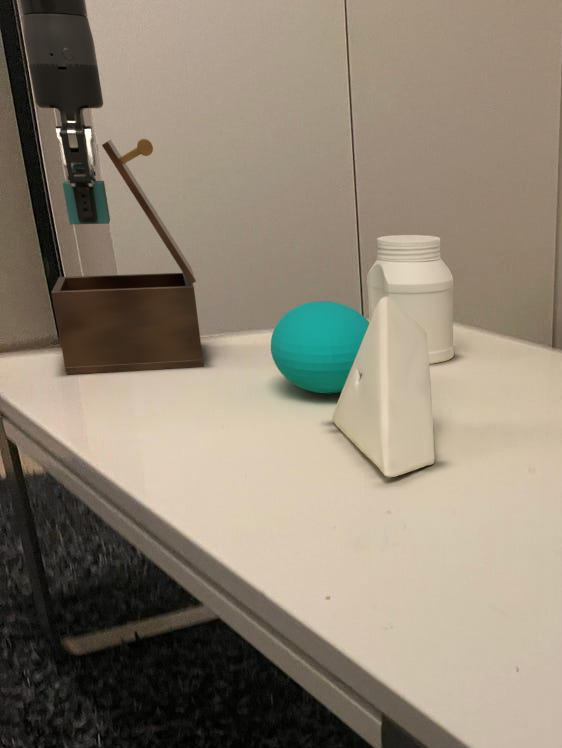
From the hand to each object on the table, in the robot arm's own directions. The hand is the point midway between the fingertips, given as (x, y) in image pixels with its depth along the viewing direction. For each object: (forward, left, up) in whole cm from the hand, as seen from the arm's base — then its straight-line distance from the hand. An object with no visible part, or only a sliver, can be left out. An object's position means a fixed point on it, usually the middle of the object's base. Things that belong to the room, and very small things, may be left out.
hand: (89, 219), depth 123 cm
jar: (+39, -8, -18) cm, 43 cm away
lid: (+7, 0, +1) cm, 7 cm away
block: (0, 0, 0) cm, 0 cm away
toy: (+25, -24, -18) cm, 39 cm away
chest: (+3, 0, -17) cm, 18 cm away
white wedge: (+28, -49, -18) cm, 59 cm away
